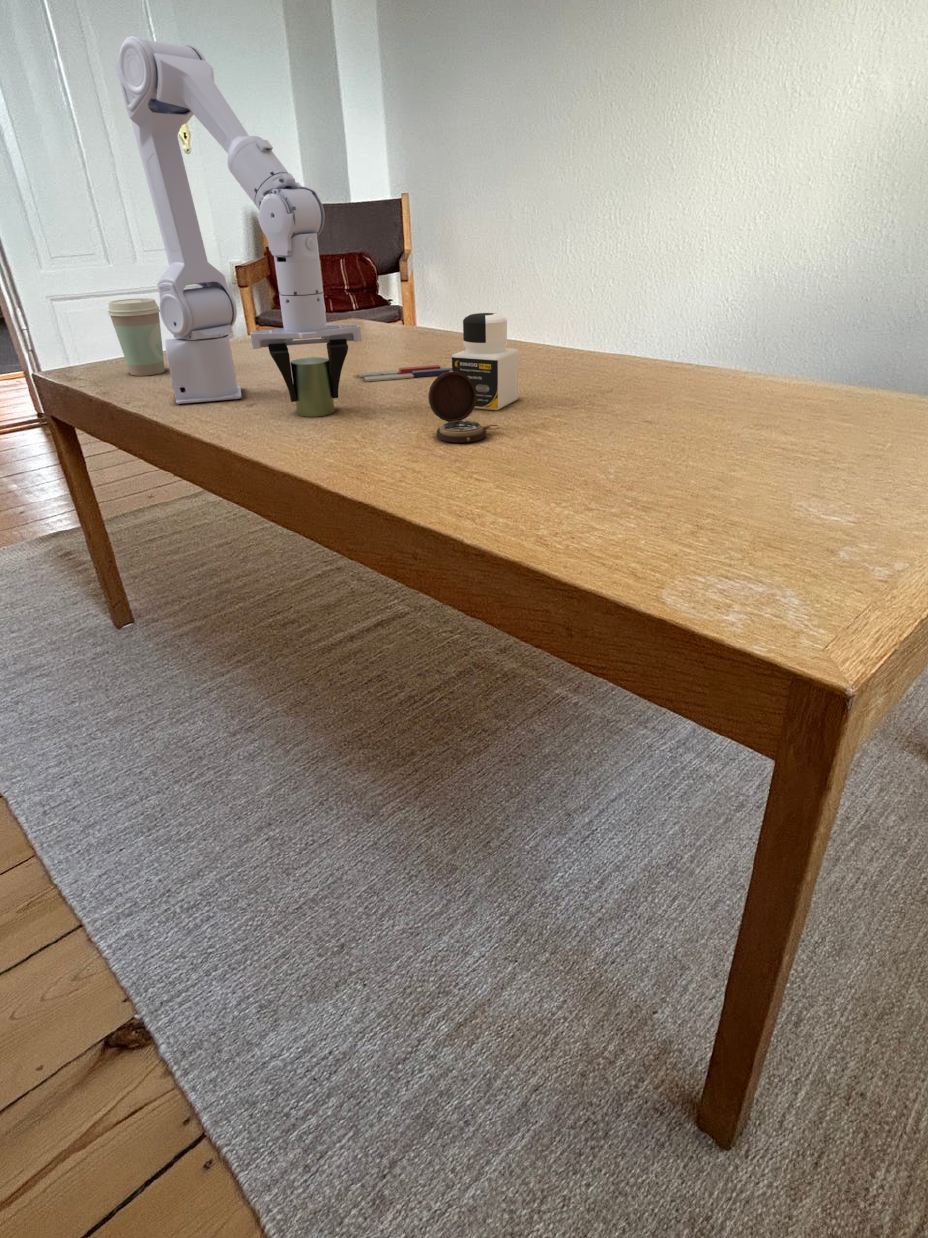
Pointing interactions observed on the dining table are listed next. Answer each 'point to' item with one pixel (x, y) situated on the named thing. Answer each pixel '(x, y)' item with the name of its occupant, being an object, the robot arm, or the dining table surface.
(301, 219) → the robot arm
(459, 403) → the compass
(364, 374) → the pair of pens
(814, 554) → the dining table surface
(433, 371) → the knife
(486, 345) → the medicine bottle
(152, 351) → the coffee cup
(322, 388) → the can
